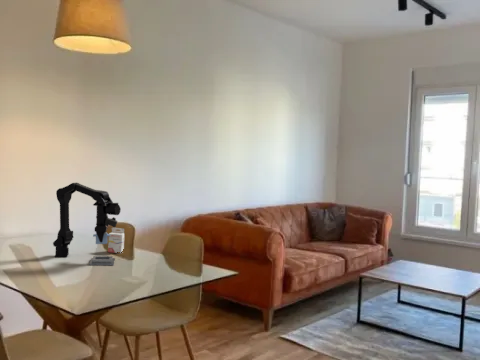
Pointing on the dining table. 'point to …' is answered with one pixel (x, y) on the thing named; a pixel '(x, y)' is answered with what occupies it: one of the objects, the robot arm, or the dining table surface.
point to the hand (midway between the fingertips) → (101, 241)
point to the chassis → (102, 260)
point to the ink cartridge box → (116, 240)
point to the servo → (103, 238)
